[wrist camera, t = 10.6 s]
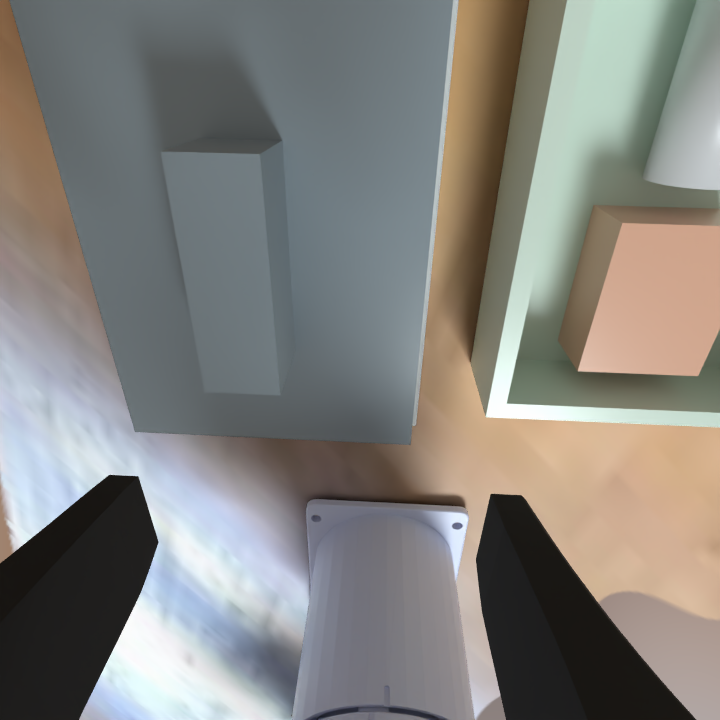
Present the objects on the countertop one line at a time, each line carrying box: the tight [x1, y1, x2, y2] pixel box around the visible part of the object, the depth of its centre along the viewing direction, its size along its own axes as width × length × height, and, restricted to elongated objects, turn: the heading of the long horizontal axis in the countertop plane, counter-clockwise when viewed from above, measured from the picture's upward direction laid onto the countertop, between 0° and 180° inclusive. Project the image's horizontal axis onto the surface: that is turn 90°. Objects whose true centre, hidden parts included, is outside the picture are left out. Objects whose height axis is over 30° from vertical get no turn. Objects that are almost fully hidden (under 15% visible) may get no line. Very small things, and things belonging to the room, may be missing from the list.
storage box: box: [471, 0, 720, 427], centre depth 14 cm, size 14×10×4 cm
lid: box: [9, 0, 453, 445], centre depth 15 cm, size 15×11×4 cm
